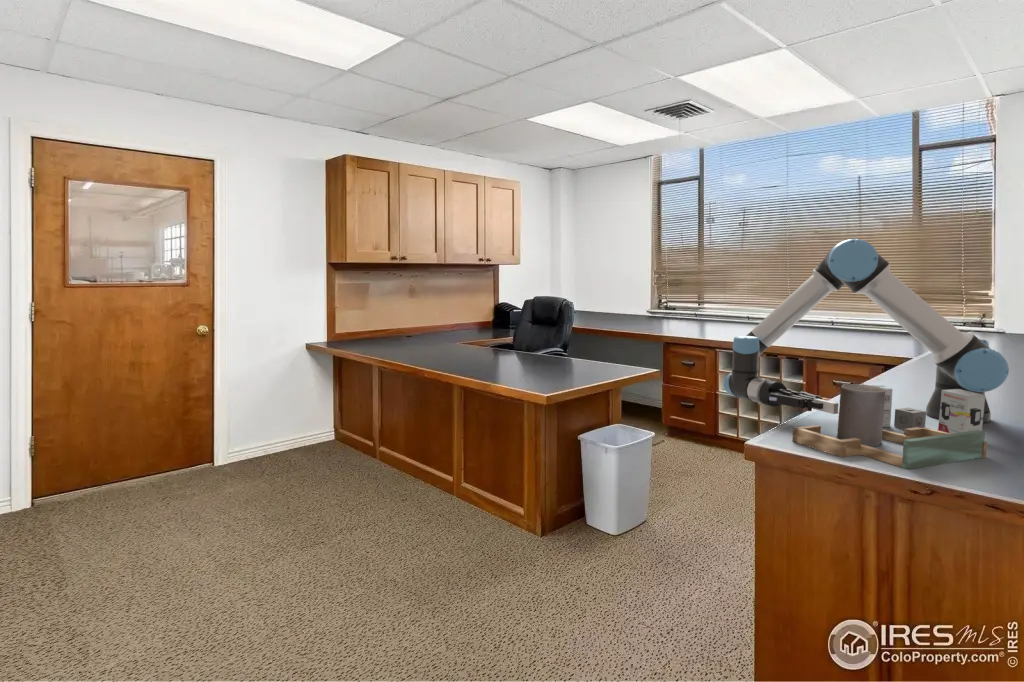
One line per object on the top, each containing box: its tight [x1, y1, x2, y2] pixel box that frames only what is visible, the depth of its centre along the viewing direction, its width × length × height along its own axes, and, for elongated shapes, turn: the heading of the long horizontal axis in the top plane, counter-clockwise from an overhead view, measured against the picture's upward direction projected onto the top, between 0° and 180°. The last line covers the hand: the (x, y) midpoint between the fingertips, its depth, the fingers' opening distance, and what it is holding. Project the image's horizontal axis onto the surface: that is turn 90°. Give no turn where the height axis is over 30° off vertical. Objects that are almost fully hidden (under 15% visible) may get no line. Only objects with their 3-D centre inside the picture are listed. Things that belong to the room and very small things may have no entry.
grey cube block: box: [893, 407, 927, 430], centre depth 162 cm, size 5×5×5 cm
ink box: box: [937, 389, 986, 434], centre depth 152 cm, size 9×5×12 cm, turn 5°
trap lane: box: [791, 424, 988, 470], centre depth 142 cm, size 26×31×6 cm
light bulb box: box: [842, 384, 893, 428], centre depth 166 cm, size 11×7×11 cm, turn 84°
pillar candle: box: [836, 382, 886, 448], centre depth 147 cm, size 10×10×15 cm
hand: (835, 408), depth 154 cm, fingers closed
